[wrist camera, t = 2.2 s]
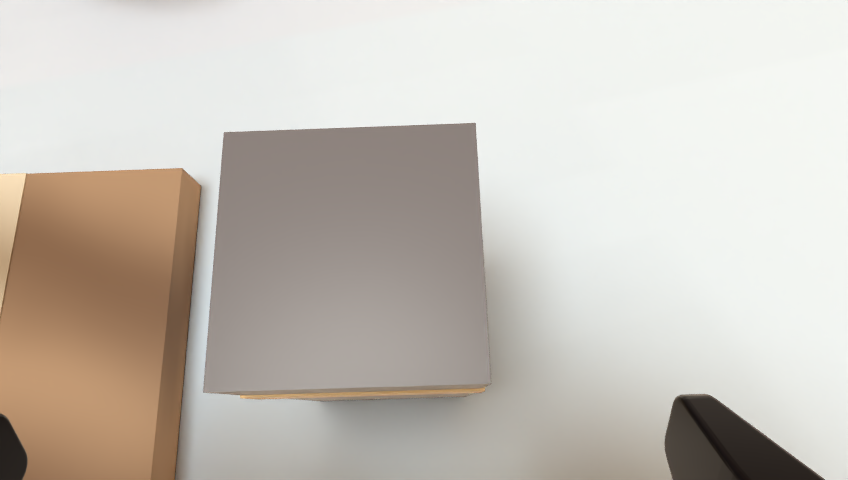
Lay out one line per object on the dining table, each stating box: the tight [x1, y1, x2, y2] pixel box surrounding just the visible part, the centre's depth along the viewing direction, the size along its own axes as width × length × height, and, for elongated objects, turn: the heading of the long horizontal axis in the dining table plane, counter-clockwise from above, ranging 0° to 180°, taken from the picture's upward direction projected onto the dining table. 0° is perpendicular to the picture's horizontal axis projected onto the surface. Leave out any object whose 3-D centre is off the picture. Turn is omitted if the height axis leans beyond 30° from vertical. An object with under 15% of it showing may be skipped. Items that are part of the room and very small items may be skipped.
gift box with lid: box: [203, 123, 491, 401], centre depth 14 cm, size 5×5×9 cm
